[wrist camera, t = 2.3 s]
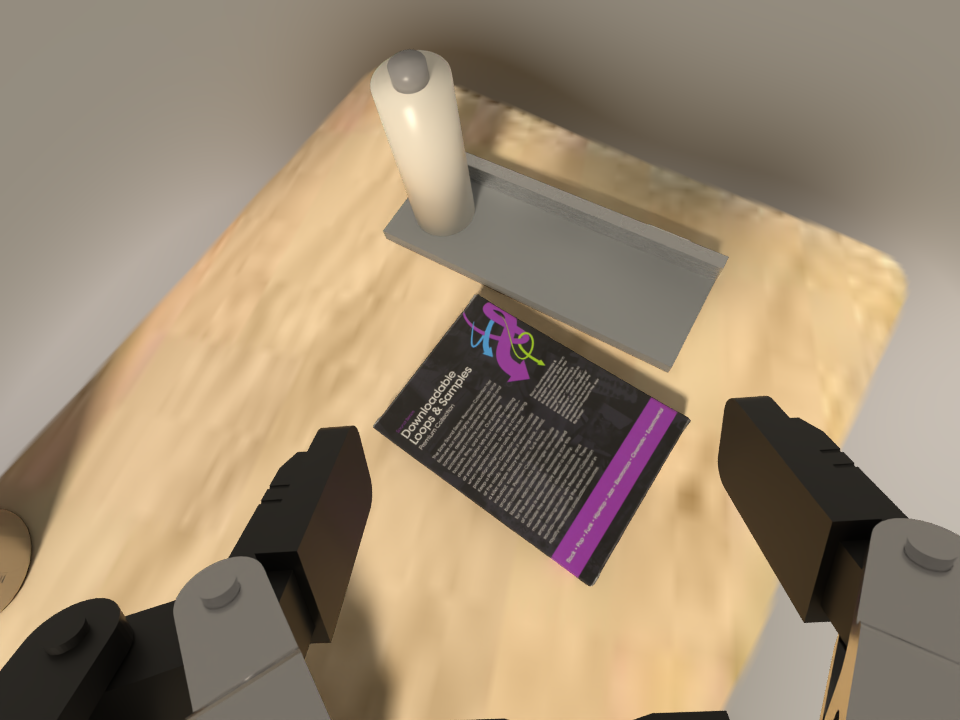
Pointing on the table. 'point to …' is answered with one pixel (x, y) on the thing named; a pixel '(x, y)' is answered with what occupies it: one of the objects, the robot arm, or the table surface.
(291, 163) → the table surface
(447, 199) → the cream bottle
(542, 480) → the box
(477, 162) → the rail
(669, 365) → the shelf board
